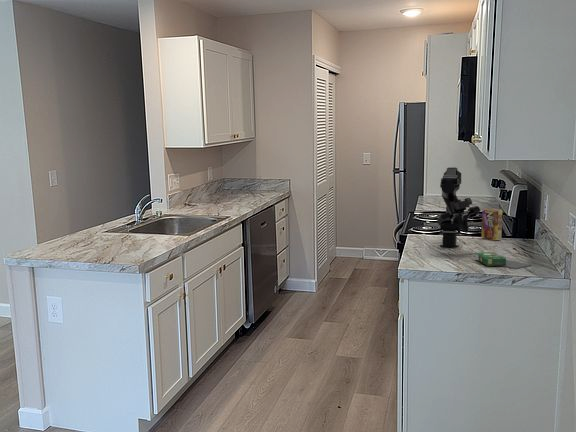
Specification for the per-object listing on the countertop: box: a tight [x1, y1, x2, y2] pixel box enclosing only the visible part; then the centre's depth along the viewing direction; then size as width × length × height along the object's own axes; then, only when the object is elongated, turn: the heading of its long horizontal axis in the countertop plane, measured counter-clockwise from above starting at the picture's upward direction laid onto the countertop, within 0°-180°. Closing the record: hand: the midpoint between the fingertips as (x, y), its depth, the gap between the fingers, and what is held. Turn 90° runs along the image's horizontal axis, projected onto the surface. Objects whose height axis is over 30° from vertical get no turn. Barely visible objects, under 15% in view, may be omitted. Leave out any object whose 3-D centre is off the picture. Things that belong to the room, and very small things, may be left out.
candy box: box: [481, 208, 503, 241], centre depth 269 cm, size 9×4×15 cm, turn 39°
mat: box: [498, 259, 533, 270], centre depth 217 cm, size 14×10×1 cm
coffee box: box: [474, 251, 507, 267], centre depth 219 cm, size 8×3×13 cm
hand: (467, 232), depth 232 cm, fingers closed
